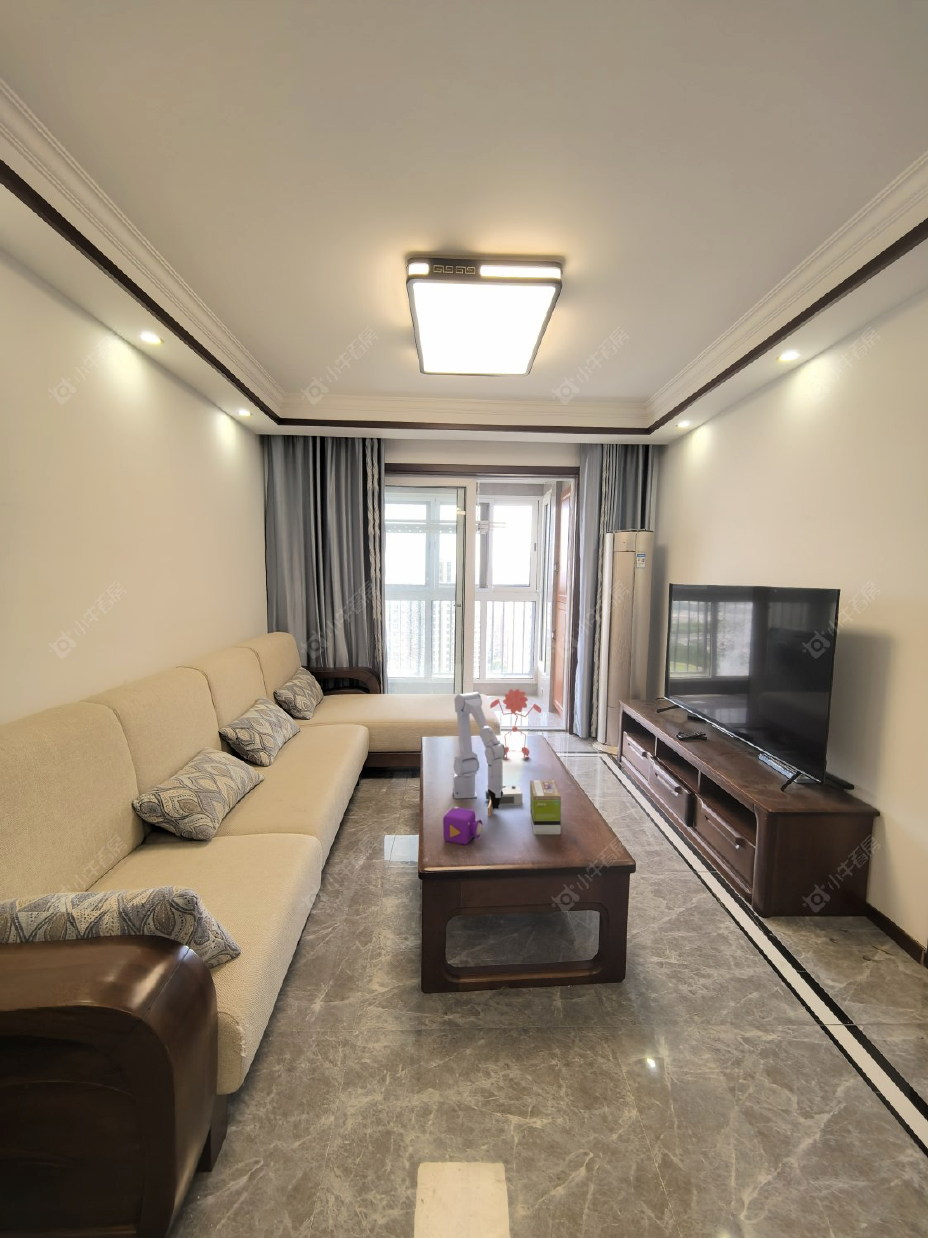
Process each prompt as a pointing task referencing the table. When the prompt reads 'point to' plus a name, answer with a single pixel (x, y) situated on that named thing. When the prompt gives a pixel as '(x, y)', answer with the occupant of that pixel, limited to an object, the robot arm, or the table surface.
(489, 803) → the side door
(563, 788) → the table surface
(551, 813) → the tea box
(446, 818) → the toy camera
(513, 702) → the figurine
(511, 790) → the white knobbed box
